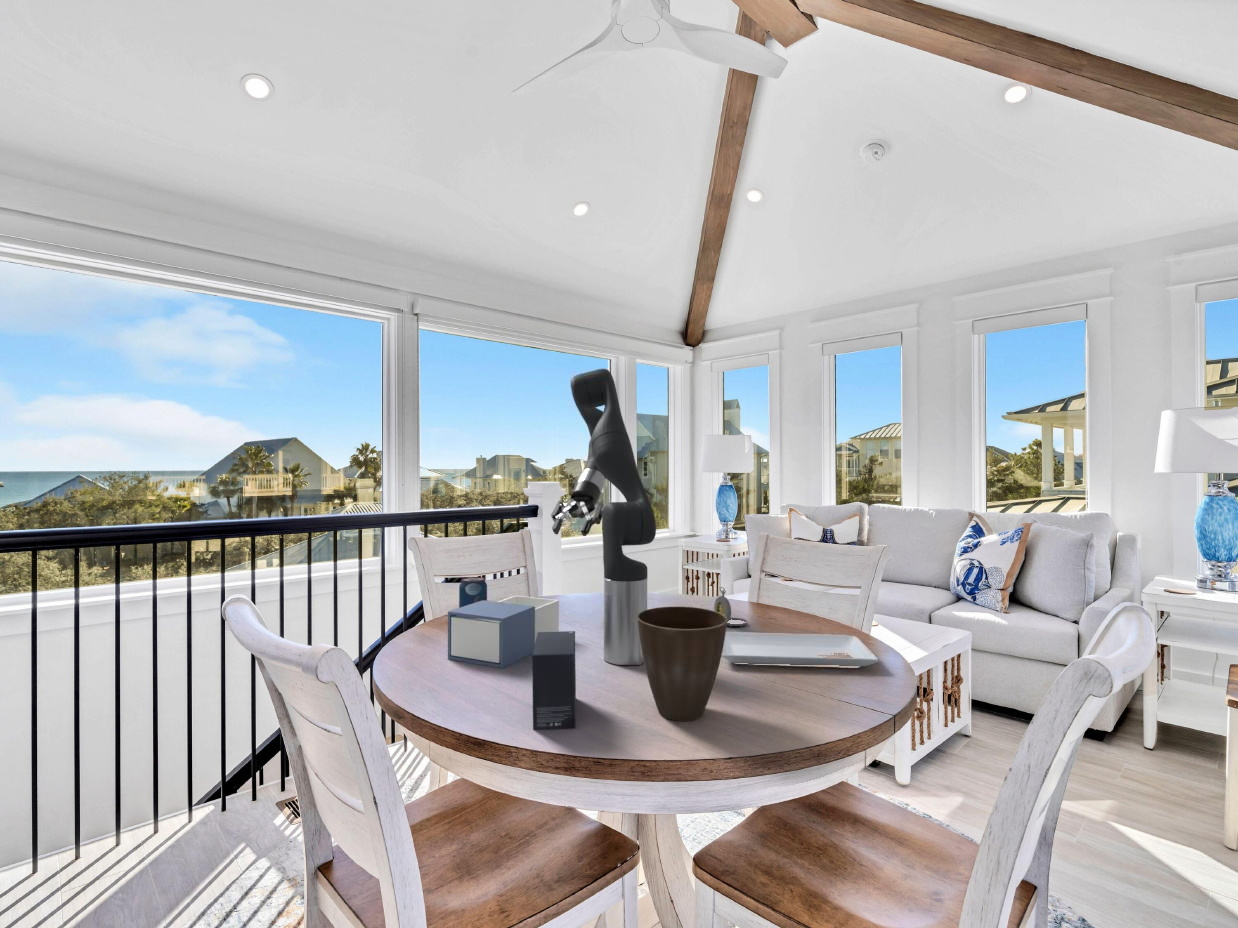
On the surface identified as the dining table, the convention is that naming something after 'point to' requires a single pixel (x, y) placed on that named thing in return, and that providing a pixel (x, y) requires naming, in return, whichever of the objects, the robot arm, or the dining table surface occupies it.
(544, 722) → the small box
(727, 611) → the pocket watch
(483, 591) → the soda can
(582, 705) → the dining table surface
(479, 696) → the dining table surface
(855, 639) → the tray
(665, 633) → the plant pot
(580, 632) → the dining table surface
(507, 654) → the mailer sleeve
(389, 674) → the dining table surface
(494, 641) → the tray
